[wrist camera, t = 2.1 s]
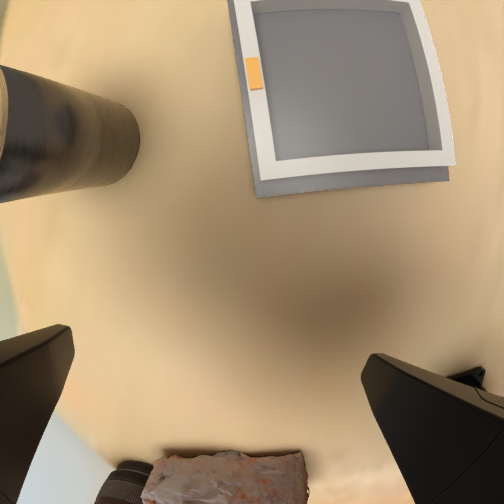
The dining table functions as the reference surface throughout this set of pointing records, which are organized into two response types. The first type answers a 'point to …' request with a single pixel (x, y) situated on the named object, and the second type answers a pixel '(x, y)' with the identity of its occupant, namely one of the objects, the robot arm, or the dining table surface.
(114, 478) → the camera lens
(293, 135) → the shallow square tray
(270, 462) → the weathered brick
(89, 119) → the dark tapered cup
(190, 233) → the dining table surface
